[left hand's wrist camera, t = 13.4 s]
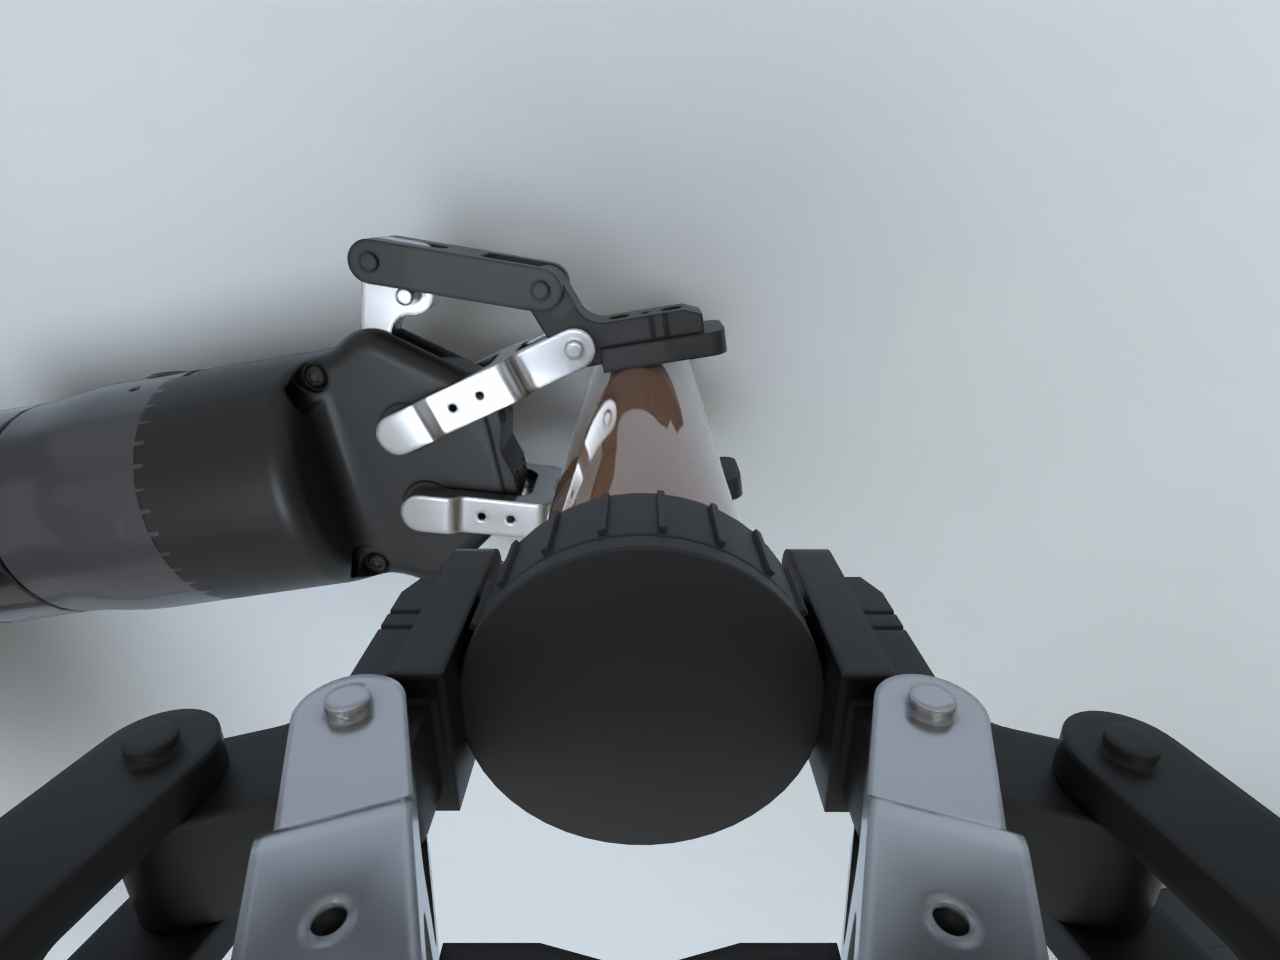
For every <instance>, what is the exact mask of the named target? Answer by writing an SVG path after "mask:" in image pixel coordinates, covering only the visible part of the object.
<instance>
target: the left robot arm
mask: <svg viewBox="0 0 1280 960" xmlns="http://www.w3.org/2000/svg"><path fill="white" fill-rule="evenodd" d="M501 566H502V561H501V555H500V552H499V550H498V549H455V550H454V551H453V553H452V555H451V556H450V558H449V560H448V562H447V564H446V566H445V567H444V569H443V571H442V573H441V575H440V576H423V577H422V578H421V579H419V580H418V581H417V582H415V583H414V584H412V585H411V586H410V587H408V588H407V589H405V590H404V591H403V592H402V593H401V594H400V596H399V597H398V599H397V601H396V602H395V604H394V606H393V607H392V609H391V613H390V614H388V615H387V617H386V618H385V620H384V622H383V623H382V625H381V629H379V630H378V631H377V633H376V635H375V636H374V638H373V640H372V641H371V643H370V644H369V646H368V648H367V649H366V651H365V652H364V654H363V656H362V657H361V659H360V661H359V662H358V664H357V665H356V667H355V669H354V670H353V672H352V674H351V675H350V676H348V677H344V678H340V679H337V680H334V681H332V682H329V683H327V684H325V685H323V686H321V687H319V688H318V689H316V690H314V691H313V692H311V693H310V694H309V695H307V696H306V697H305V698H304V699H303V700H302V701H301V702H300V703H299V704H298V705H297V707H296V708H295V710H294V711H293V713H292V716H291V719H290V723H289V724H286V725H282V726H278V727H275V728H270V729H266V730H261V731H256V732H252V733H247V734H243V735H238V736H233V737H229V738H224V737H223V734H222V730H221V727H220V723H219V721H218V719H217V718H216V717H215V716H214V715H213V714H211V713H209V712H206V711H203V710H197V709H179V710H171V711H167V712H162V713H158V714H155V715H152V716H149V717H146V718H143V719H141V720H138V721H136V722H134V723H132V724H130V725H128V726H126V727H124V728H122V729H120V730H119V731H117V732H115V733H114V734H112V735H111V736H109V737H108V738H107V739H105V740H104V741H103V742H101V743H100V744H99V745H97V746H96V747H94V748H93V749H92V750H90V751H89V752H88V753H86V754H85V755H84V756H82V757H81V758H80V759H78V760H77V761H76V762H74V763H73V764H72V765H70V766H69V767H68V768H66V769H65V770H64V771H62V772H61V773H60V774H58V775H57V776H56V777H54V778H53V779H52V780H50V781H49V782H48V783H46V784H45V785H44V786H42V787H41V788H39V789H38V790H37V791H35V792H34V793H33V794H31V795H30V796H29V797H27V798H26V799H25V800H23V801H22V802H21V803H19V804H18V805H17V806H15V807H14V808H13V809H11V810H10V811H9V812H7V813H6V814H5V815H3V816H2V817H1V818H0V960H43V959H44V958H45V956H46V955H47V953H48V952H49V951H50V949H51V948H52V947H53V946H54V944H55V943H56V942H57V941H58V940H59V939H60V938H61V937H62V936H63V935H64V934H65V933H66V932H67V931H68V930H70V929H71V928H72V927H73V926H74V925H75V924H76V923H77V922H78V921H79V920H80V919H81V918H82V917H83V916H84V915H85V914H86V913H87V912H88V911H89V910H90V909H91V908H92V907H93V906H94V905H95V904H97V903H98V902H99V901H100V900H101V899H102V898H103V897H104V896H105V895H106V894H107V893H108V892H109V891H110V890H111V889H112V888H113V887H114V886H115V885H116V884H117V883H118V882H119V881H120V880H121V879H122V878H123V881H124V884H125V886H126V889H127V891H128V894H129V898H128V899H127V900H126V901H125V902H124V903H123V904H122V905H121V906H120V907H119V908H118V909H117V910H116V911H115V912H114V913H113V914H112V915H111V916H110V917H109V918H108V919H107V920H106V921H105V922H104V923H103V924H102V925H101V926H100V927H99V928H98V929H97V930H96V931H95V932H94V933H93V934H92V935H91V936H90V937H89V938H88V939H87V940H86V941H85V942H84V943H83V944H82V945H81V946H80V947H79V948H78V949H77V950H76V951H75V952H74V953H73V954H72V955H71V956H70V957H69V958H68V959H67V960H222V959H223V957H224V956H225V955H226V954H227V952H228V951H229V950H230V949H231V947H232V946H233V945H234V946H233V952H232V957H231V960H600V959H596V958H592V957H589V956H585V955H581V954H578V953H574V952H571V951H567V950H563V949H560V948H556V947H552V946H549V945H545V944H542V943H443V946H442V949H441V953H440V955H439V945H438V934H437V924H436V914H435V903H434V893H433V882H432V872H431V862H430V851H429V844H428V838H427V834H428V831H429V828H430V825H431V822H432V819H433V816H434V813H435V811H460V808H461V805H462V802H463V798H464V795H465V792H466V788H467V785H468V781H469V778H470V775H471V771H472V768H473V765H474V761H475V757H474V755H473V753H472V751H471V749H470V746H469V744H468V742H467V738H466V731H465V723H464V714H463V706H462V697H461V688H460V672H461V668H462V663H463V659H464V656H465V653H466V651H467V648H468V646H469V643H470V641H471V638H472V635H473V633H474V631H473V630H470V629H469V626H470V624H471V621H472V619H473V616H474V614H475V612H476V609H477V607H478V604H479V602H480V599H481V597H482V594H483V592H484V590H485V587H486V585H487V582H488V580H489V579H491V580H495V577H496V575H497V573H498V571H499V570H500V568H501ZM786 566H788V567H789V569H790V570H791V573H792V575H793V578H794V580H795V582H796V585H797V587H798V590H799V592H800V595H801V597H802V599H803V602H804V604H805V607H806V609H807V611H808V615H807V616H805V617H804V618H805V620H806V623H807V625H808V628H809V631H810V633H811V635H812V638H813V640H814V643H815V646H816V648H817V651H818V654H819V657H820V659H821V662H822V667H823V673H824V691H823V700H822V708H821V717H820V725H819V732H818V739H817V742H816V744H815V746H814V748H813V750H812V753H811V755H810V757H809V762H810V765H811V768H812V772H813V775H814V778H815V781H816V785H817V788H818V791H819V795H820V798H821V801H822V804H823V808H824V811H825V812H850V815H851V818H852V821H853V824H854V831H853V838H852V844H851V851H850V862H849V872H848V883H847V893H846V903H845V914H844V924H843V935H842V945H841V955H840V953H839V950H838V946H837V943H738V944H735V945H731V946H728V947H724V948H720V949H717V950H713V951H709V952H706V953H702V954H699V955H695V956H691V957H688V958H684V959H680V960H1049V957H1048V952H1047V946H1048V947H1049V949H1050V950H1051V951H1052V952H1053V954H1054V955H1055V956H1056V957H1057V959H1058V960H1280V818H1279V817H1278V816H1277V815H1275V814H1274V813H1273V812H1271V811H1270V810H1269V809H1267V808H1266V807H1265V806H1263V805H1262V804H1261V803H1259V802H1258V801H1257V800H1255V799H1254V798H1253V797H1251V796H1250V795H1249V794H1247V793H1246V792H1245V791H1243V790H1242V789H1241V788H1239V787H1238V786H1237V785H1235V784H1234V783H1232V782H1231V781H1230V780H1228V779H1227V778H1226V777H1224V776H1223V775H1222V774H1220V773H1219V772H1218V771H1216V770H1215V769H1214V768H1212V767H1211V766H1210V765H1208V764H1207V763H1206V762H1204V761H1203V760H1202V759H1200V758H1199V757H1198V756H1196V755H1195V754H1194V753H1192V752H1191V751H1190V750H1188V749H1187V748H1186V747H1184V746H1183V745H1181V744H1180V743H1179V742H1177V741H1176V740H1175V739H1173V738H1172V737H1170V736H1169V735H1167V734H1166V733H1164V732H1162V731H1160V730H1159V729H1157V728H1155V727H1153V726H1151V725H1149V724H1146V723H1144V722H1142V721H1139V720H1137V719H1134V718H1131V717H1128V716H1124V715H1121V714H1116V713H1111V712H1104V711H1085V712H1080V713H1076V714H1074V715H1072V716H1070V717H1068V719H1067V720H1066V721H1065V722H1064V724H1063V727H1062V730H1061V734H1060V737H1059V739H1056V738H1051V737H1047V736H1042V735H1037V734H1033V733H1028V732H1024V731H1019V730H1014V729H1010V728H1006V727H1003V726H999V725H996V724H993V723H991V722H990V719H989V716H988V713H987V711H986V710H985V708H984V707H983V705H982V704H981V703H980V702H979V701H978V700H977V699H976V698H975V697H974V696H973V695H971V694H970V693H969V692H967V691H966V690H964V689H962V688H961V687H959V686H957V685H955V684H953V683H951V682H948V681H946V680H943V679H940V678H936V677H935V676H934V675H933V673H932V671H931V670H930V668H929V667H928V665H927V663H926V662H925V660H924V659H923V657H922V655H921V654H920V652H919V651H918V649H917V648H916V646H915V644H914V643H913V641H912V640H911V638H910V636H909V635H908V633H907V632H906V630H903V625H902V624H901V622H900V620H899V619H898V617H897V616H896V615H894V611H893V609H892V608H891V606H890V604H889V603H888V601H887V600H886V598H885V596H884V595H883V593H882V592H880V591H879V590H878V589H876V588H875V587H873V586H872V585H871V584H869V583H868V582H866V581H865V580H864V579H862V578H861V577H844V575H843V574H842V572H841V570H840V568H839V566H838V565H837V563H836V561H835V559H834V557H833V556H832V554H831V552H830V551H829V550H828V549H786V550H785V551H784V554H783V558H782V567H783V568H784V567H786ZM1046 945H1047V946H1046Z"/></svg>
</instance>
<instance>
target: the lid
mask: <svg viewBox="0 0 1280 960" xmlns="http://www.w3.org/2000/svg"><path fill="white" fill-rule="evenodd" d="M807 615H808V611H807V609H806V607H805V604H804V602H803V599H802V597H801V595H800V592H799V590H798V587H797V585H796V582H795V580H794V578H793V575H792V573H791V570H790V569H789V567H788V566H786V567H784V568H783V567H782V565H781V563H780V562H779V560H778V559H777V558H776V556H775V555H774V554H773V552H772V551H771V550H770V548H769V547H768V546H767V545H766V544H765V543H764V540H763V538H762V535H761V533H760V532H759V531H758V530H757V529H755V530H754V531H753V532H752V531H751V530H750V529H748V528H747V527H746V526H744V525H743V524H742V523H740V522H739V521H738V520H736V519H734V518H732V517H731V516H729V515H727V514H725V513H724V512H722V511H720V510H718V506H717V505H716V504H714V503H710V505H709V506H708V505H705V504H703V503H700V502H697V501H694V500H690V499H686V498H682V497H678V496H672V495H665V492H664V491H662V490H657V493H629V494H619V495H611V496H610V495H609V492H608V493H602V497H601V498H598V499H593V500H589V501H587V502H584V503H581V504H578V505H576V506H573V507H570V508H568V509H566V510H564V511H562V512H560V513H559V511H558V510H555V511H553V512H552V513H551V516H550V518H549V519H548V520H546V521H545V522H543V523H542V524H541V525H539V526H538V527H536V528H535V529H533V530H532V531H531V532H530V533H529V534H528V535H527V536H526V537H525V538H524V539H523V540H522V541H520V542H518V541H517V540H515V541H514V542H513V543H512V545H511V547H510V550H509V553H508V555H507V558H506V560H505V561H504V563H503V565H502V566H501V568H500V570H499V571H498V573H497V575H496V577H495V580H491V579H489V580H488V582H487V585H486V587H485V590H484V592H483V594H482V597H481V599H480V602H479V604H478V607H477V609H476V612H475V614H474V616H473V619H472V621H471V624H470V626H469V629H470V630H473V631H474V633H473V635H472V638H471V641H470V643H469V646H468V648H467V651H466V653H465V656H464V659H463V663H462V668H461V672H460V688H461V697H462V706H463V714H464V723H465V731H466V738H467V742H468V744H469V746H470V749H471V751H472V753H473V755H474V757H475V758H476V760H477V762H478V763H479V765H480V767H481V768H482V770H483V771H484V773H485V774H486V775H487V776H488V777H489V779H490V780H491V781H492V782H493V783H494V785H495V786H496V787H497V788H498V789H499V790H500V791H501V792H502V793H504V794H505V795H506V796H507V797H508V798H509V799H510V800H511V801H512V802H514V803H515V804H516V805H518V806H519V807H521V808H522V809H523V810H525V811H526V812H527V813H529V814H531V815H533V816H534V817H536V818H538V819H540V820H541V821H543V822H545V823H547V824H549V825H552V826H554V827H556V828H558V829H561V830H563V831H565V832H569V833H572V834H575V835H578V836H581V837H584V838H589V839H593V840H598V841H603V842H609V843H618V844H627V845H655V844H667V843H675V842H680V841H686V840H691V839H695V838H699V837H702V836H706V835H709V834H713V833H715V832H718V831H720V830H723V829H725V828H728V827H730V826H733V825H735V824H737V823H739V822H740V821H742V820H744V819H746V818H748V817H750V816H752V815H753V814H755V813H756V812H758V811H759V810H760V809H762V808H763V807H765V806H766V805H768V804H769V803H770V802H771V801H773V800H774V799H775V798H776V797H777V796H778V795H779V794H781V793H782V792H783V791H784V790H785V789H786V788H787V787H788V785H789V784H790V783H791V782H792V781H793V780H794V779H795V777H796V776H797V775H798V774H799V772H800V771H801V769H802V768H803V766H804V765H805V763H806V762H807V760H808V759H809V757H810V755H811V753H812V750H813V748H814V746H815V744H816V742H817V739H818V732H819V725H820V717H821V708H822V700H823V691H824V673H823V667H822V662H821V659H820V657H819V654H818V651H817V648H816V646H815V643H814V640H813V638H812V635H811V633H810V631H809V628H808V625H807V623H806V620H805V618H804V617H805V616H807Z"/></svg>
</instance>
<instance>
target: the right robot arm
mask: <svg viewBox="0 0 1280 960" xmlns="http://www.w3.org/2000/svg"><path fill="white" fill-rule="evenodd" d="M348 265H349V268H350V270H351V272H352V273H353V274H354V276H355V277H356V278H358V279H359V280H360V281H362V290H361V330H358V331H355V332H353V333H351V334H350V335H348V336H347V337H346V338H345V339H344V340H343V341H342V342H341V343H340V344H338V345H337V346H336V347H334V348H330V349H326V350H320V351H314V352H308V353H302V354H296V355H290V356H283V357H277V358H271V359H265V360H259V361H253V362H247V363H240V364H234V365H228V366H222V367H216V368H210V369H204V370H197V371H191V372H186V371H173V372H163V373H157V374H153V375H151V376H150V377H147V378H146V379H143V380H137V381H131V382H125V383H120V384H115V385H110V386H105V387H101V388H97V389H94V390H91V391H87V392H84V393H81V394H78V395H75V396H72V397H69V398H66V399H63V400H59V401H56V402H51V403H47V404H39V405H33V406H27V407H21V408H14V409H8V410H2V411H0V623H9V622H16V621H22V620H29V619H36V618H43V617H50V616H57V615H64V614H71V613H78V612H85V611H95V610H111V609H115V610H142V609H159V608H169V607H177V606H184V605H191V604H198V603H205V602H211V601H218V600H225V599H232V598H239V597H246V596H253V595H260V594H268V593H275V592H282V591H289V590H296V589H303V588H310V587H317V586H324V585H331V584H338V583H345V582H351V581H356V580H360V579H364V578H368V577H371V576H375V575H379V574H383V573H388V572H396V573H403V574H408V575H412V576H415V577H418V578H422V577H423V576H440V575H441V573H442V571H443V569H444V567H445V566H446V564H447V562H448V560H449V558H450V556H451V555H452V553H453V551H454V550H455V549H478V548H479V547H480V546H481V545H482V544H483V543H484V542H485V541H486V540H487V539H488V538H489V537H490V536H491V535H499V536H509V537H519V538H525V537H526V536H527V535H528V534H529V533H530V532H531V531H532V530H533V529H535V528H536V527H538V526H539V525H541V524H542V523H543V522H545V521H546V519H547V516H548V513H549V510H550V507H551V503H552V500H553V497H554V494H555V490H556V487H557V484H558V481H559V478H560V474H561V471H562V470H561V469H560V468H558V467H554V466H547V465H538V464H528V463H526V461H525V457H524V453H523V451H522V449H521V447H520V446H519V444H518V442H517V440H516V438H515V436H514V434H513V431H512V428H513V406H512V404H513V403H515V402H517V401H519V400H521V399H522V398H524V397H526V396H527V395H528V394H530V393H531V392H533V391H535V390H537V389H539V388H541V387H543V386H545V385H548V384H550V383H552V382H554V381H556V380H559V379H561V378H563V377H565V376H567V375H570V374H572V373H574V372H576V371H578V370H580V369H583V368H585V367H589V366H595V365H603V371H604V373H607V372H614V371H620V370H625V369H630V368H638V367H645V366H652V365H658V364H664V363H671V362H677V361H683V360H690V359H696V358H702V357H709V356H715V355H719V354H722V353H725V352H726V351H727V348H726V339H725V330H724V326H723V325H722V323H721V322H720V321H719V320H707V321H703V317H702V313H701V311H700V309H699V308H698V307H694V306H690V305H685V304H676V305H670V306H664V307H657V308H651V309H645V310H639V311H633V312H627V313H621V314H614V315H608V316H599V315H595V314H593V313H591V312H589V311H588V310H587V309H586V308H585V307H584V306H583V305H582V303H581V302H580V300H579V298H578V297H577V295H576V293H575V291H574V290H573V288H572V286H571V284H570V279H569V275H568V273H567V271H566V270H565V269H564V268H563V267H562V266H561V265H559V264H557V263H554V262H549V261H543V260H537V259H531V258H526V257H520V256H514V255H508V254H502V253H496V252H490V251H485V250H479V249H473V248H467V247H461V246H455V245H449V244H444V243H438V242H432V241H426V240H420V239H414V238H408V237H403V236H383V237H374V238H369V239H362V240H359V241H357V242H355V243H354V244H353V245H352V246H351V248H350V249H349V252H348ZM440 296H445V297H451V298H457V299H463V300H469V301H475V302H481V303H487V304H493V305H499V306H505V307H511V308H517V309H523V310H529V311H531V312H532V313H533V315H534V317H535V318H536V320H537V322H538V323H539V325H540V326H541V328H542V330H543V331H544V332H542V333H540V334H537V335H535V336H533V337H531V338H529V339H526V340H522V341H519V342H517V343H515V344H513V345H511V346H508V347H506V348H504V349H502V350H500V351H498V352H496V353H494V354H491V355H489V356H487V357H485V358H483V359H481V360H479V361H477V362H474V363H473V362H471V361H469V360H467V359H465V358H463V357H461V356H459V355H457V354H455V353H453V352H451V351H449V350H446V349H444V348H442V347H440V346H438V345H436V344H434V343H432V342H430V341H428V340H426V339H424V338H422V337H419V336H417V335H415V334H413V333H411V332H409V331H407V330H405V329H403V328H401V325H402V322H403V320H404V318H405V317H406V316H407V315H417V314H421V313H423V312H425V311H427V310H430V309H431V308H433V307H434V306H436V304H437V303H438V302H439V299H440ZM719 458H720V461H721V465H722V468H723V471H724V475H725V478H726V481H727V484H728V488H729V491H730V494H731V498H732V500H734V499H737V498H739V497H740V496H741V495H742V485H741V476H740V471H739V469H738V466H737V463H736V461H735V459H734V458H731V457H719ZM525 481H527V482H525ZM503 563H504V561H502V565H503Z"/></svg>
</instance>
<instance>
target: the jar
mask: <svg viewBox="0 0 1280 960" xmlns="http://www.w3.org/2000/svg"><path fill="white" fill-rule="evenodd" d="M657 490H662V491H664V492H665V495H672V496H678V497H682V498H686V499H690V500H694V501H697V502H700V503H703V504H705V505H708V506H709V505H710V503H714V504H716V505H717V506H718V510H720V511H722V512H724V513H725V514H727V515H729V516H731V517H732V518H734V519H736V520H738V517H737V514H736V511H735V508H734V504H733V501H732V498H731V494H730V491H729V488H728V484H727V481H726V478H725V475H724V471H723V468H722V465H721V461H720V458H719V455H718V451H717V448H716V445H715V441H714V438H713V435H712V432H711V428H710V425H709V422H708V418H707V415H706V412H705V408H704V405H703V402H702V399H701V395H700V392H699V389H698V385H697V382H696V379H695V375H694V372H693V369H692V365H691V362H690V360H683V361H677V362H671V363H664V364H658V365H652V366H645V367H638V368H630V369H625V370H620V371H614V372H607V373H604V371H603V365H595V366H594V368H593V371H592V375H591V378H590V381H589V384H588V387H587V391H586V394H585V397H584V400H583V404H582V407H581V410H580V413H579V416H578V420H577V423H576V426H575V429H574V432H573V436H572V439H571V442H570V445H569V449H568V452H567V455H566V458H565V461H564V465H563V468H562V471H561V474H560V478H559V481H558V484H557V487H556V490H555V494H554V497H553V500H552V503H551V507H550V510H549V513H548V516H547V519H546V520H548V519H549V518H550V516H551V513H552V512H553V511H555V510H558V511H559V513H560V512H562V511H564V510H566V509H568V508H570V507H573V506H576V505H578V504H581V503H584V502H587V501H589V500H593V499H598V498H601V497H602V493H608V492H609V495H610V496H611V495H619V494H629V493H657Z"/></svg>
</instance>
